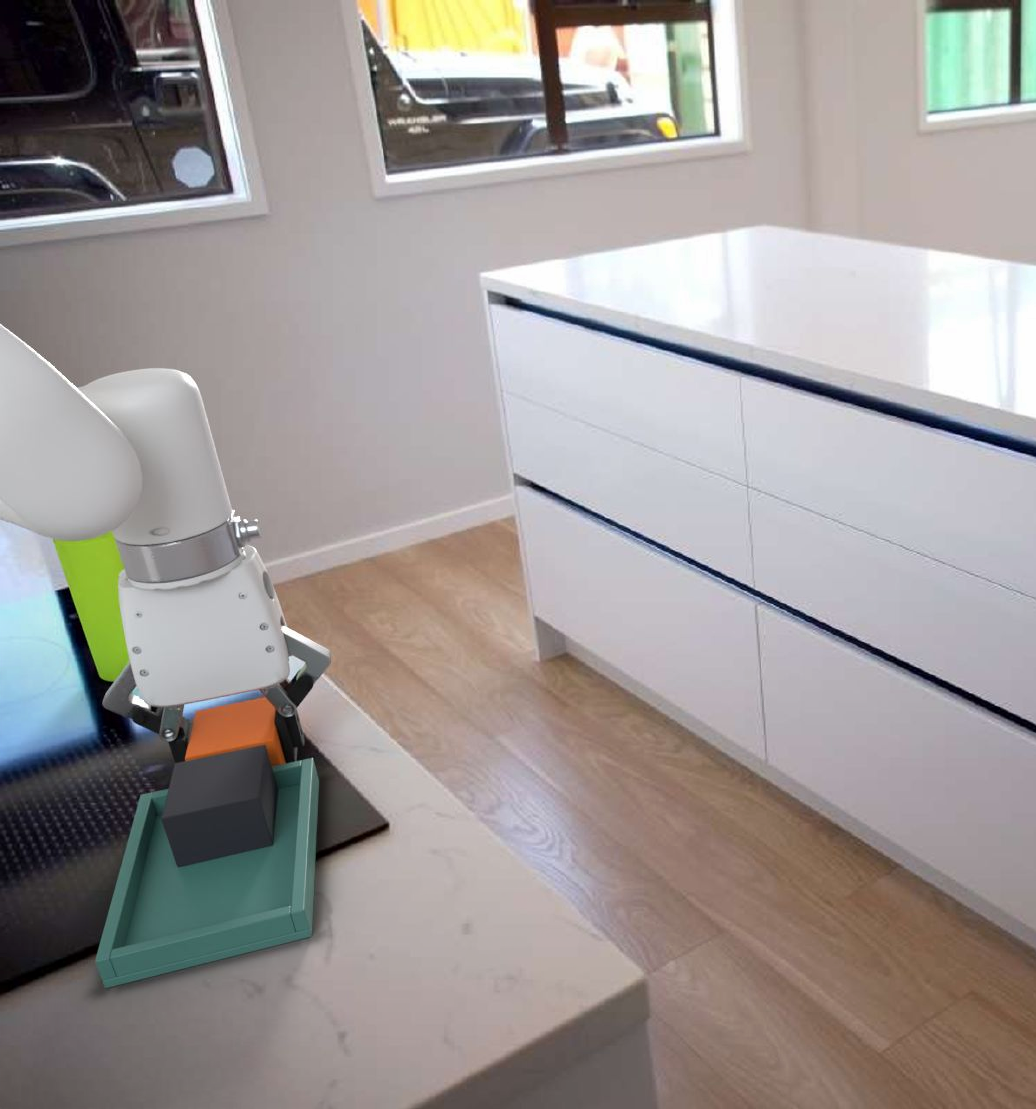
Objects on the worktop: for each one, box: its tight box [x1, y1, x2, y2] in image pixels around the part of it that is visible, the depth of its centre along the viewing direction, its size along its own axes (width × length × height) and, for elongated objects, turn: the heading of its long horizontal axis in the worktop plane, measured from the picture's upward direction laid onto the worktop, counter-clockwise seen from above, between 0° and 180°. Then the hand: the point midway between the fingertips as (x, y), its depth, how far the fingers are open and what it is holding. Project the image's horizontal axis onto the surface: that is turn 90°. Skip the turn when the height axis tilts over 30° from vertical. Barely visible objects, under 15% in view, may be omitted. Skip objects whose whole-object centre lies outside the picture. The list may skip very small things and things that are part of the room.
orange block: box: [185, 696, 286, 766], centre depth 95 cm, size 6×7×4 cm
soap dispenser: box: [52, 531, 130, 683], centre depth 107 cm, size 6×7×20 cm
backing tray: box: [94, 757, 320, 989], centre depth 84 cm, size 12×18×2 cm, turn 19°
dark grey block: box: [161, 745, 278, 867], centre depth 87 cm, size 6×7×4 cm
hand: (245, 763), depth 95 cm, fingers closed on orange block, 6 cm apart
